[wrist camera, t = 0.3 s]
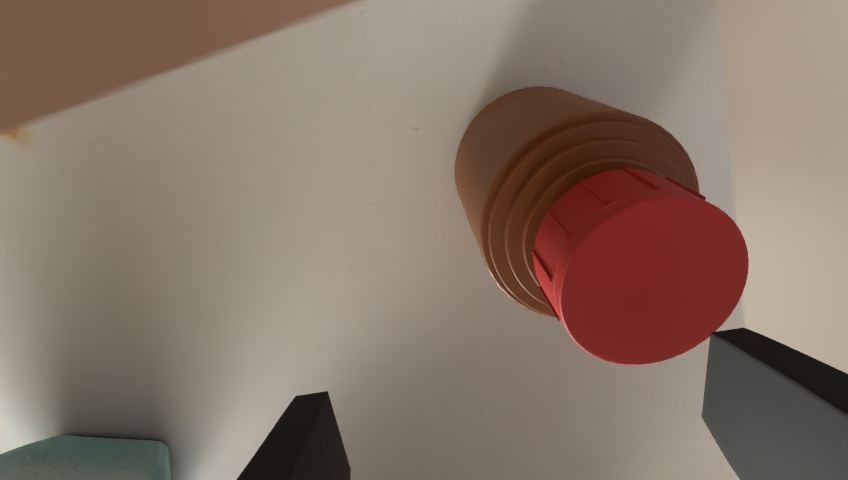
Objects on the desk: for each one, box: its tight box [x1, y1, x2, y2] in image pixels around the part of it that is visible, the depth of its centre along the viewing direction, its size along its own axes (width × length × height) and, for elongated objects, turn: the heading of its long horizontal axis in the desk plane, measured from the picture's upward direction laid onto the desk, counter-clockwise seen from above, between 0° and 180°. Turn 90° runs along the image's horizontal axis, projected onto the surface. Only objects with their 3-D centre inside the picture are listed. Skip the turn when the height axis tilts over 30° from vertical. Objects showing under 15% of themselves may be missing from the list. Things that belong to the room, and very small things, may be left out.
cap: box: [532, 167, 748, 365], centre depth 11 cm, size 4×4×2 cm
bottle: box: [455, 87, 700, 317], centre depth 14 cm, size 6×6×9 cm
